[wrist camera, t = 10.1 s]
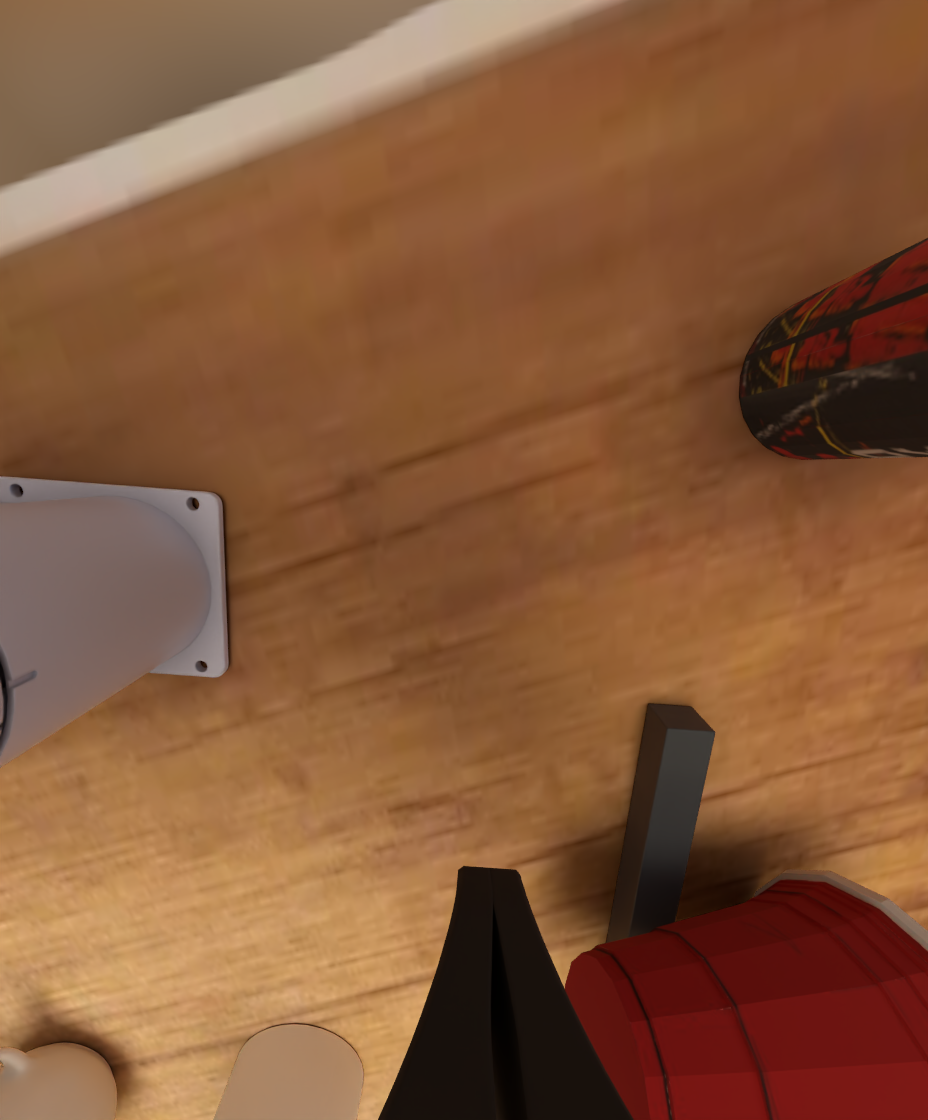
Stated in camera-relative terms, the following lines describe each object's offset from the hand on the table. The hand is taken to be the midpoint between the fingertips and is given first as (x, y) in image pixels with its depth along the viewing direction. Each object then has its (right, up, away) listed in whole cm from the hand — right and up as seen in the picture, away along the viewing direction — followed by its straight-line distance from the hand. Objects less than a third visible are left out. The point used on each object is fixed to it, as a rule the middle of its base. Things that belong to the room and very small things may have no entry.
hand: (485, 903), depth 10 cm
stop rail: (+8, -7, +12) cm, 16 cm away
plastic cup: (+4, -9, +5) cm, 11 cm away
